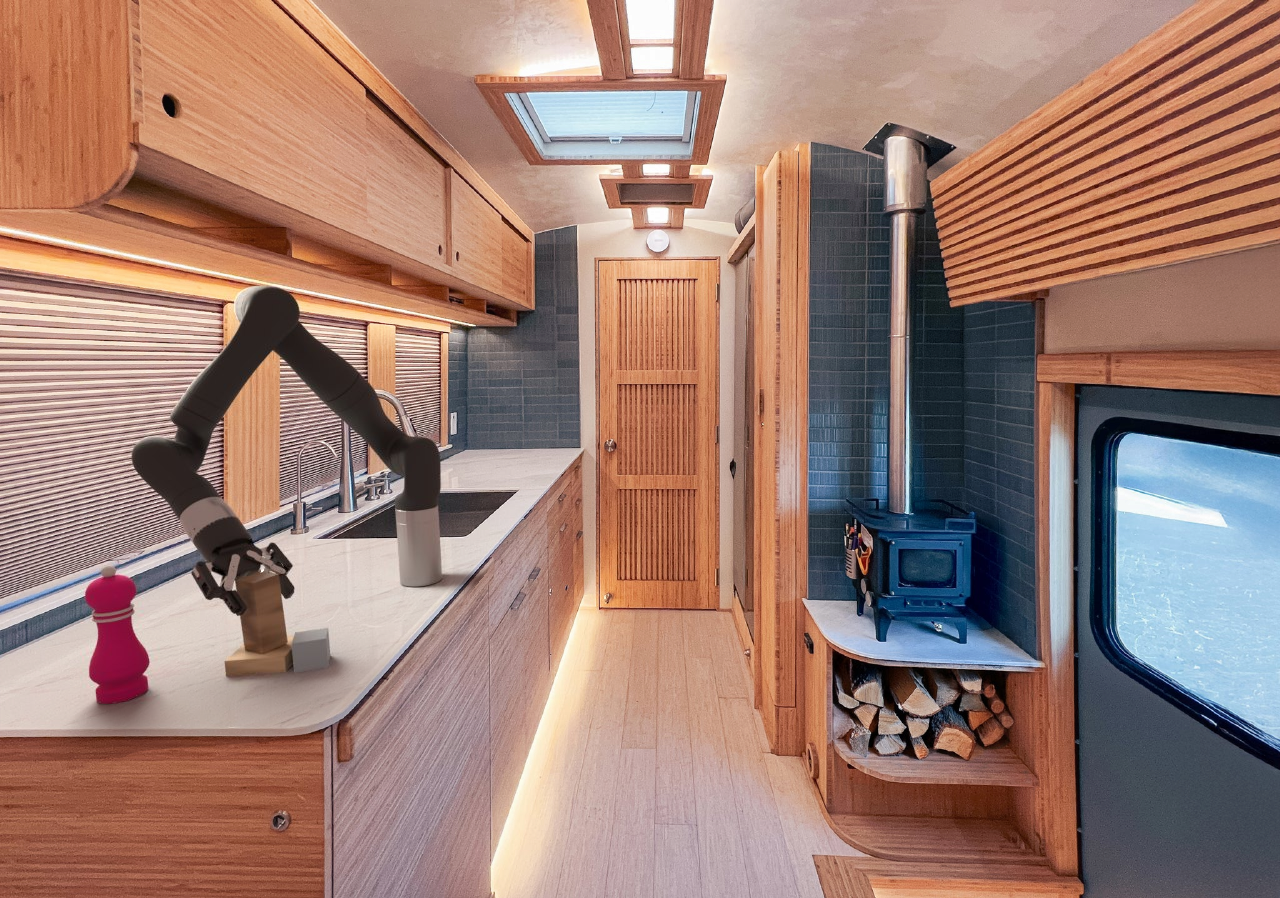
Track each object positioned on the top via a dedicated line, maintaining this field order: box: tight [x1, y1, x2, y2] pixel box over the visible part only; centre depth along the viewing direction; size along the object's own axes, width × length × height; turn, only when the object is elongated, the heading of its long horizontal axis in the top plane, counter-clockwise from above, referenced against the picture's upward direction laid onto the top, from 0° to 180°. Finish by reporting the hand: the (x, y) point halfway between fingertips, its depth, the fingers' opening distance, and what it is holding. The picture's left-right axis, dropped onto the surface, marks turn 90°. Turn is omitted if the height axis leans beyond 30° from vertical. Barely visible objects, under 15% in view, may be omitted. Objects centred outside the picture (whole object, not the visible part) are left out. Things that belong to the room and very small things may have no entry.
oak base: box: [223, 635, 294, 677], centre depth 112 cm, size 9×9×3 cm
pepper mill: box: [84, 565, 150, 705], centre depth 100 cm, size 7×7×20 cm
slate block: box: [292, 627, 331, 674], centre depth 110 cm, size 5×5×5 cm
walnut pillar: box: [234, 572, 288, 654], centre depth 111 cm, size 4×4×12 cm
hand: (267, 603), depth 110 cm, fingers open, 8 cm apart
